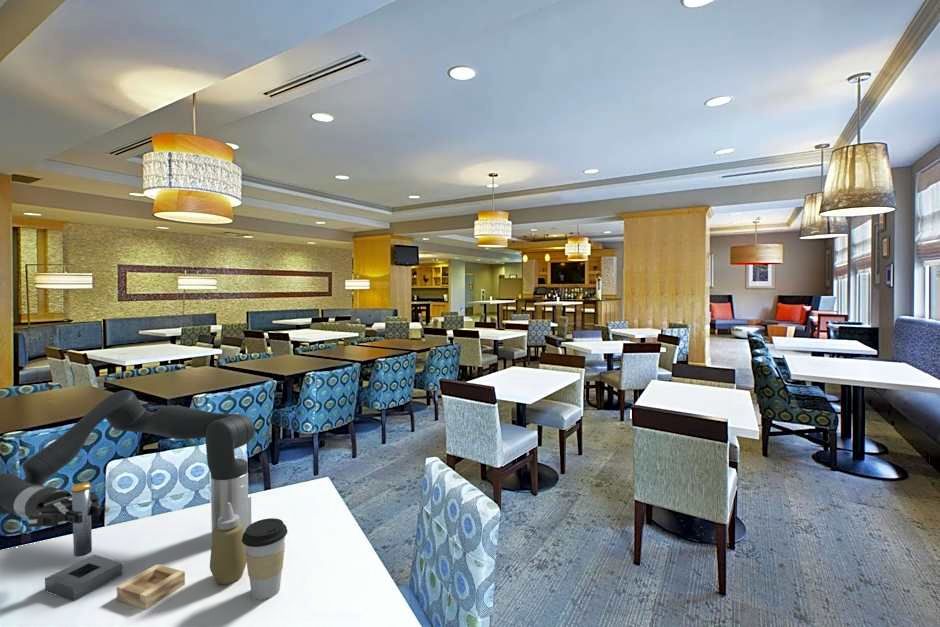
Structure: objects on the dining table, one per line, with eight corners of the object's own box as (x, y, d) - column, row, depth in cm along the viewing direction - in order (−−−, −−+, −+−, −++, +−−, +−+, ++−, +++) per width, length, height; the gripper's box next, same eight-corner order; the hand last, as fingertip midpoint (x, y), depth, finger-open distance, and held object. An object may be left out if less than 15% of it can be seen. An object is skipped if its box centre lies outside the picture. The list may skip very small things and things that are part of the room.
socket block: (94, 566, 111) (94, 554, 111) (122, 574, 108) (121, 562, 108) (45, 591, 102) (44, 578, 102) (73, 601, 98) (73, 588, 98)
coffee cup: (271, 608, 97) (270, 540, 96) (232, 602, 98) (231, 535, 98) (296, 580, 106) (295, 518, 105) (261, 575, 108) (260, 514, 107)
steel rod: (86, 547, 106) (84, 481, 106) (96, 550, 105) (93, 483, 105) (69, 555, 103) (67, 486, 103) (79, 558, 102) (77, 488, 102)
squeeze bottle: (255, 571, 110) (254, 498, 109) (228, 591, 102) (226, 513, 101) (230, 564, 112) (229, 493, 112) (201, 583, 105) (200, 508, 104)
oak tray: (157, 576, 107) (157, 563, 107) (184, 584, 104) (184, 571, 104) (117, 600, 99) (116, 586, 99) (145, 609, 96) (145, 596, 96)
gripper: (77, 505, 115) (123, 516, 110) (5, 532, 102) (53, 546, 96) (76, 477, 115) (122, 486, 109) (4, 500, 102) (52, 512, 96)
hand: (89, 514), depth 103 cm, fingers closed on steel rod, 3 cm apart
